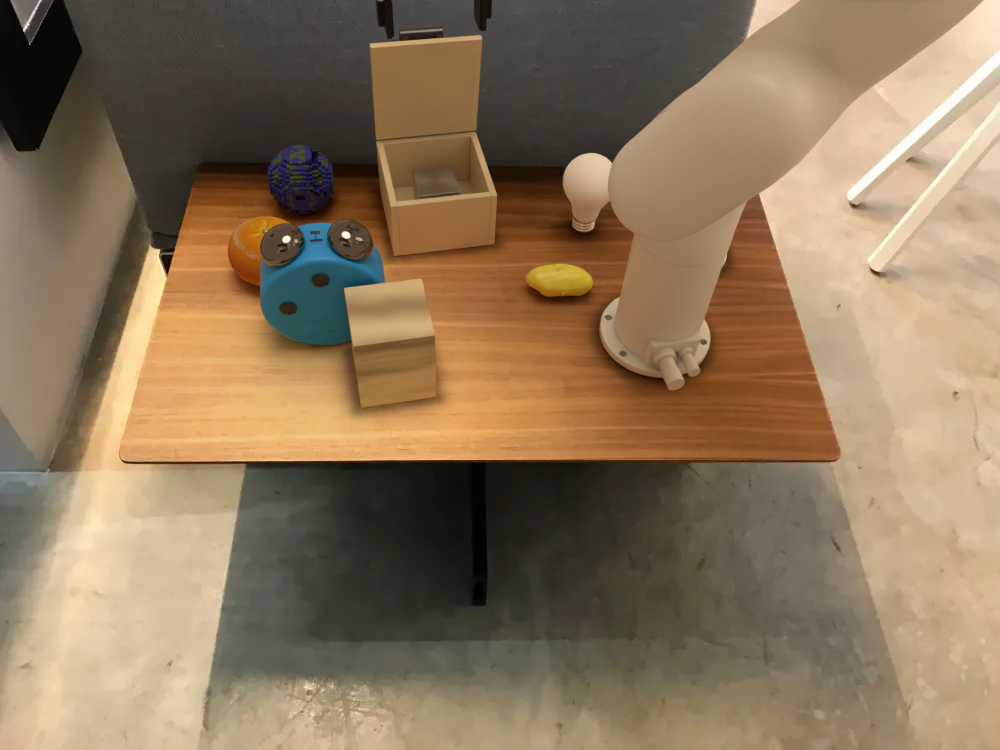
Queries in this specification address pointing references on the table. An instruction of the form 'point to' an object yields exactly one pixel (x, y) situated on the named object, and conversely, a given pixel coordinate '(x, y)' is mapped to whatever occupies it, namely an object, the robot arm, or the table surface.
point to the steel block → (434, 183)
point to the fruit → (250, 247)
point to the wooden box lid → (425, 83)
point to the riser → (392, 342)
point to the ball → (301, 179)
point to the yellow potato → (559, 280)
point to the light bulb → (587, 188)
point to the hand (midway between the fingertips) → (434, 28)
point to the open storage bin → (439, 217)
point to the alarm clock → (315, 277)
